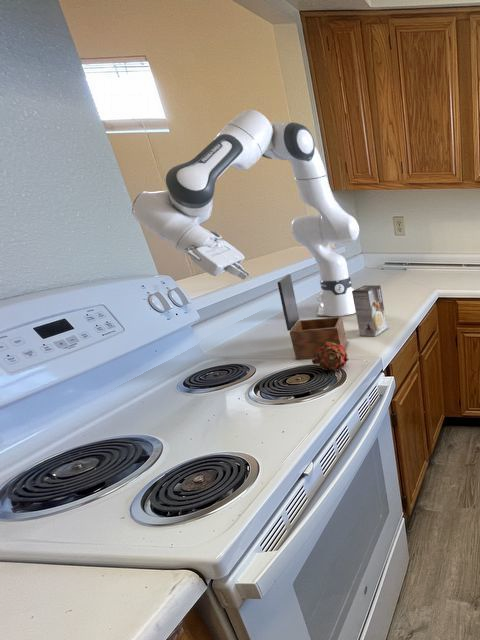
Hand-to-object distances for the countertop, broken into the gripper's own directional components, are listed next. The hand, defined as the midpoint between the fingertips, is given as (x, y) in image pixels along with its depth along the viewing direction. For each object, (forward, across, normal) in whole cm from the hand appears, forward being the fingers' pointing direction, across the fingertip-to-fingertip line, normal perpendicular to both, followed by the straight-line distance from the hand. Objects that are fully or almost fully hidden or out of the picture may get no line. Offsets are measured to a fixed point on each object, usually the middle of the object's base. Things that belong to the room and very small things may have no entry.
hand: (247, 277), depth 121 cm
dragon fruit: (+33, -18, +2) cm, 37 cm away
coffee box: (+40, +14, -5) cm, 43 cm away
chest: (+29, 0, +6) cm, 30 cm away
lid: (+13, 0, -1) cm, 13 cm away
